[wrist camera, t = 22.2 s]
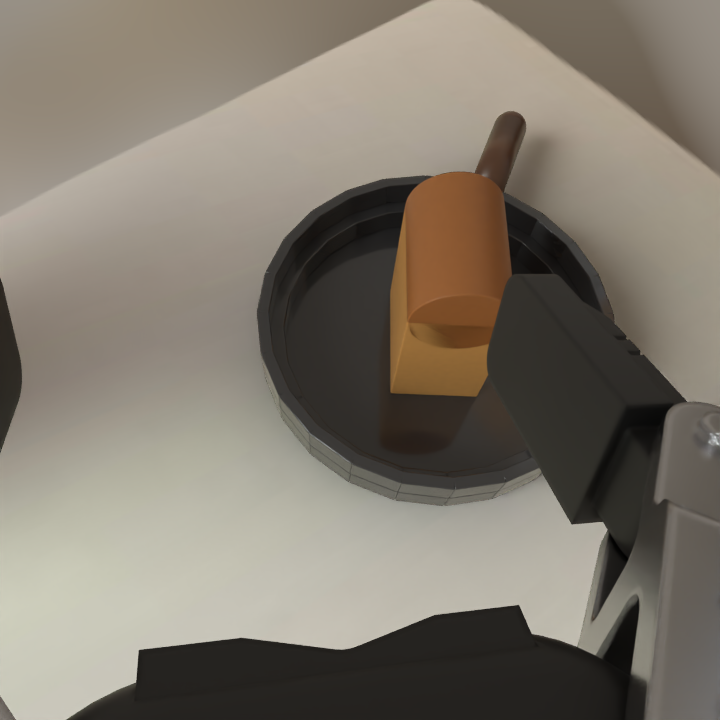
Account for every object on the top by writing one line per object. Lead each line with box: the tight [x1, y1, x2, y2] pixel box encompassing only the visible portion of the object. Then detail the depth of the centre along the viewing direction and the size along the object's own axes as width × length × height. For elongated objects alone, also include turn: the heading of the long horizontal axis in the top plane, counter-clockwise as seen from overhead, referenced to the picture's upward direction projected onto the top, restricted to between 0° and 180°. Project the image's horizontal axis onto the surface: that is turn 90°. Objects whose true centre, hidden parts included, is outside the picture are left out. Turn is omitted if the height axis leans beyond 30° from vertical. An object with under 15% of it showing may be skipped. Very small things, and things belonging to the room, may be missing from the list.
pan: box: [257, 176, 614, 506], centre depth 34 cm, size 18×18×4 cm
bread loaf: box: [390, 172, 512, 397], centre depth 31 cm, size 6×5×10 cm
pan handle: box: [475, 111, 526, 192], centre depth 39 cm, size 8×2×2 cm, turn 159°
